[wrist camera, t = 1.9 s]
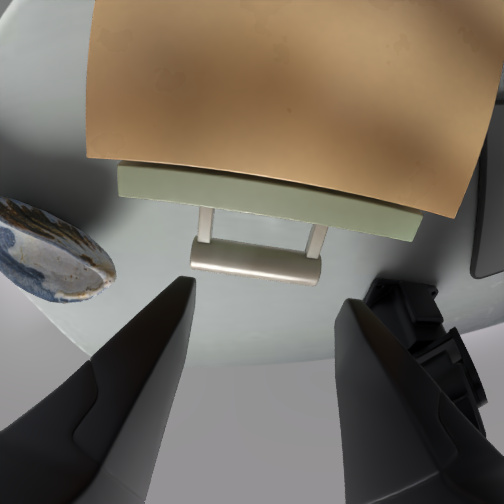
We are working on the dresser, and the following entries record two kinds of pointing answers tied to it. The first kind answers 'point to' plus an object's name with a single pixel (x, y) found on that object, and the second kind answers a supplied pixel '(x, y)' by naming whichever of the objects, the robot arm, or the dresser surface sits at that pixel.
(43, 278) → the seashell
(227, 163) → the cabinet
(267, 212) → the drawer
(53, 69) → the dresser surface
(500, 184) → the smartphone
